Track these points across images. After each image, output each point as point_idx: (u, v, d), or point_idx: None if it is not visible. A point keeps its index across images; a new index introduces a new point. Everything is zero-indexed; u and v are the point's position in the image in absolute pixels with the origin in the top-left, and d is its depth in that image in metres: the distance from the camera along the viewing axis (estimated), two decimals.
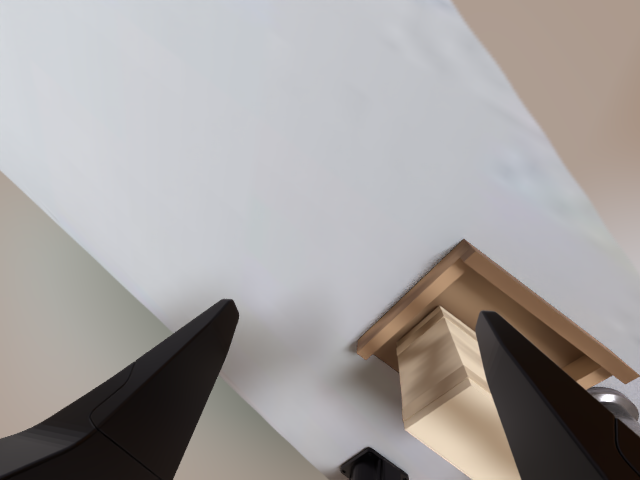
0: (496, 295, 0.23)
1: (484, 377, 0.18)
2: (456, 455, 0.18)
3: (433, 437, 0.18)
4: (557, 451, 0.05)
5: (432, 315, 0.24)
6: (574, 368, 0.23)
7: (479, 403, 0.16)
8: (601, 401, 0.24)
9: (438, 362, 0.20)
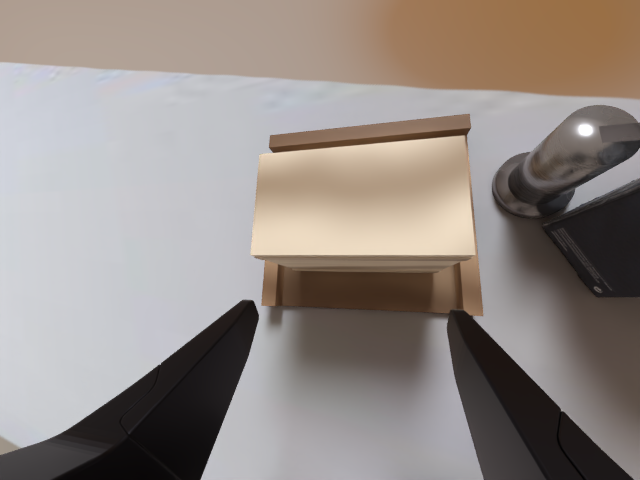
0: None
1: None
2: (318, 237, 0.13)
3: (280, 237, 0.14)
4: (507, 444, 0.05)
5: None
6: None
7: (280, 163, 0.15)
8: (510, 171, 0.20)
9: None
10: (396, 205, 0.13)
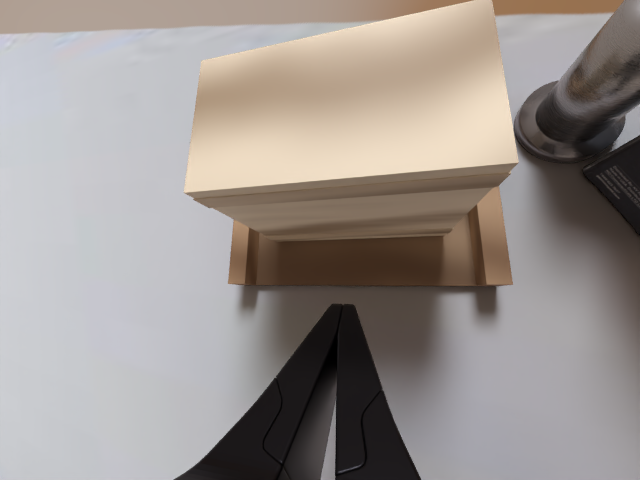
0: None
1: None
2: (278, 160, 0.09)
3: (225, 164, 0.10)
4: None
5: None
6: None
7: (228, 68, 0.11)
8: (538, 105, 0.16)
9: None
10: (391, 104, 0.09)
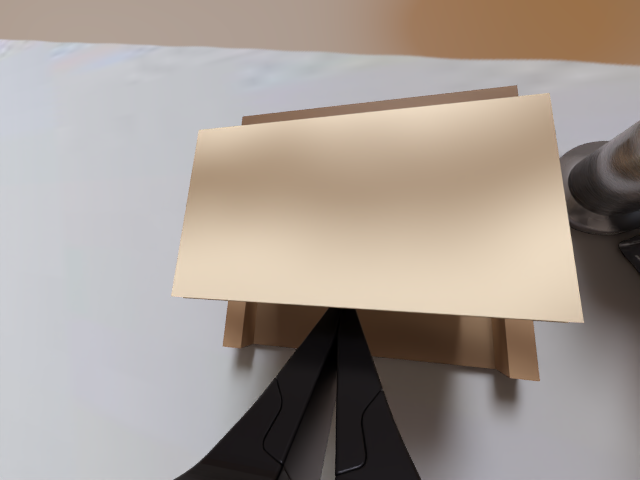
0: None
1: None
2: (283, 272, 0.08)
3: (221, 267, 0.08)
4: None
5: None
6: None
7: (229, 144, 0.09)
8: (571, 168, 0.15)
9: None
10: (422, 218, 0.07)
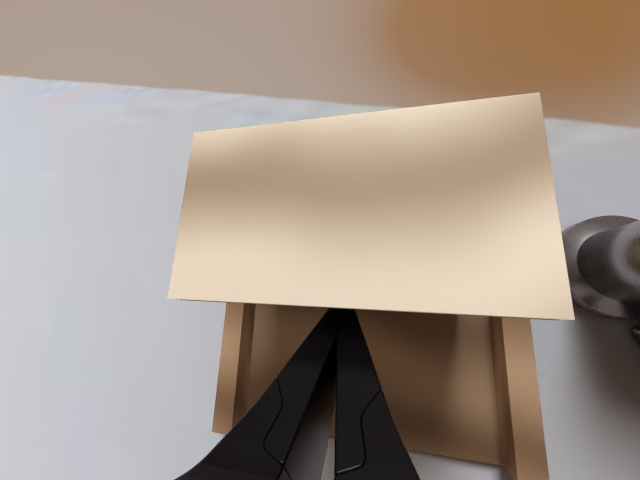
0: None
1: None
2: (278, 273, 0.08)
3: (216, 269, 0.08)
4: None
5: None
6: None
7: (223, 146, 0.09)
8: (580, 244, 0.14)
9: None
10: (415, 218, 0.07)
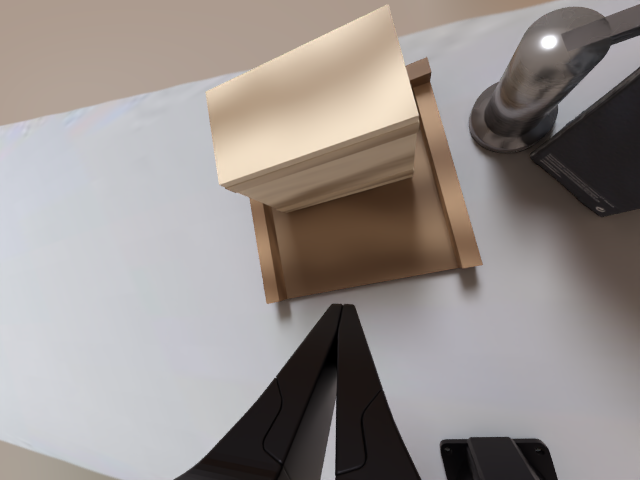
0: None
1: None
2: (274, 149, 0.14)
3: (241, 160, 0.15)
4: None
5: None
6: None
7: (225, 93, 0.15)
8: (485, 107, 0.19)
9: None
10: (337, 94, 0.13)
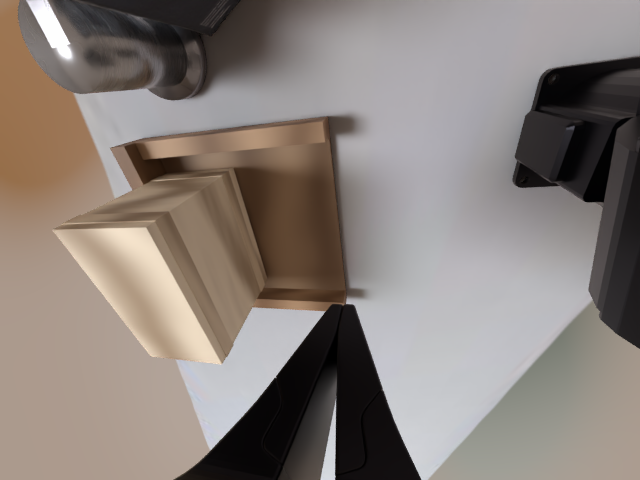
0: None
1: None
2: (189, 327, 0.16)
3: (201, 348, 0.17)
4: None
5: None
6: None
7: (149, 345, 0.19)
8: None
9: None
10: (138, 279, 0.15)
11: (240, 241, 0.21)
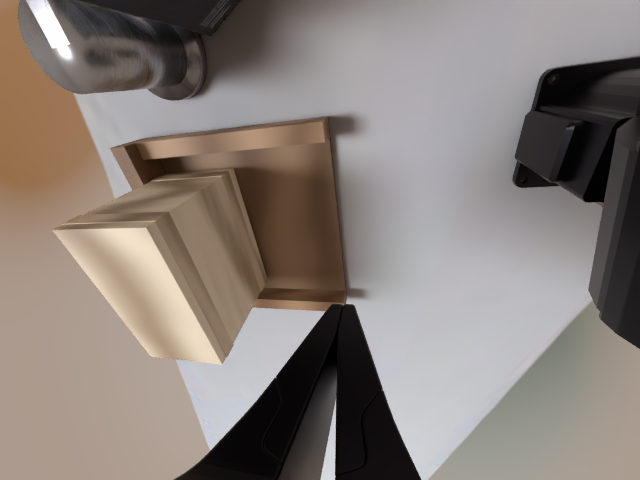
0: None
1: None
2: (189, 327, 0.16)
3: (201, 348, 0.17)
4: None
5: None
6: None
7: (150, 346, 0.19)
8: None
9: None
10: (138, 279, 0.15)
11: (240, 241, 0.21)
